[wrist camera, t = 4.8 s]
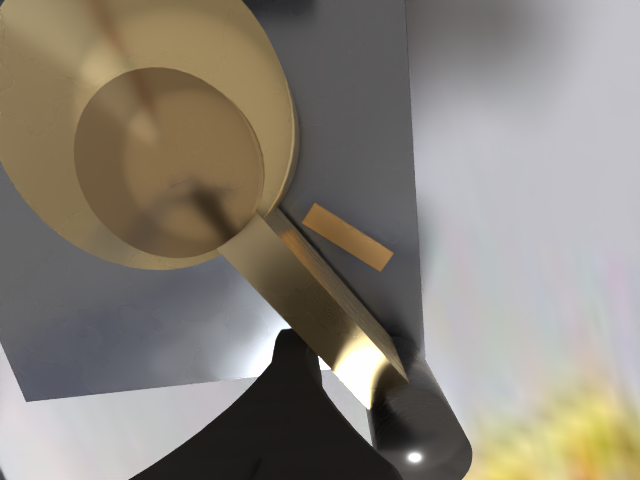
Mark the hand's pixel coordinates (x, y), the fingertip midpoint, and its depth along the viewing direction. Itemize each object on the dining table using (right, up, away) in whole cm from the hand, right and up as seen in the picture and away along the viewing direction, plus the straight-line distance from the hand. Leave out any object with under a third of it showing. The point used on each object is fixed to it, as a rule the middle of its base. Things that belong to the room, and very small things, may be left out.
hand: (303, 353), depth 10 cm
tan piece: (-1, +4, 0) cm, 4 cm away
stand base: (-4, +6, +1) cm, 7 cm away
